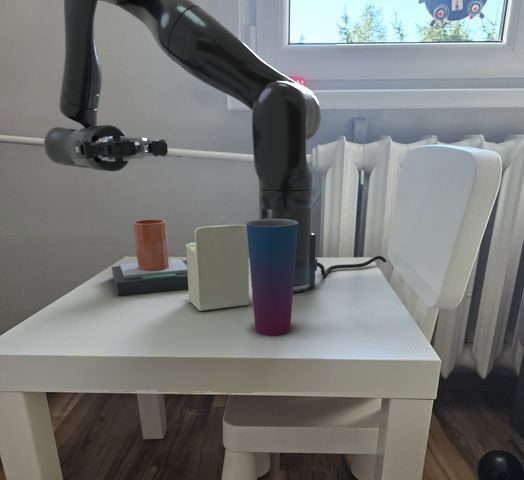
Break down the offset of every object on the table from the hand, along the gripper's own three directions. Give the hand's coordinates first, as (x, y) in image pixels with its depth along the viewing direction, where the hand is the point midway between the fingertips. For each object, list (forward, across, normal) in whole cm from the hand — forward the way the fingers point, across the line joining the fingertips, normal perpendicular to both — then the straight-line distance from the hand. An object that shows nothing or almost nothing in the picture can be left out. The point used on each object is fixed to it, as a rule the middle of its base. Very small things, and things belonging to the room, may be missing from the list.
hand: (140, 148), depth 78 cm
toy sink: (+11, +6, +24) cm, 27 cm away
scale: (-8, +4, +24) cm, 26 cm away
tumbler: (-8, +4, +21) cm, 23 cm away
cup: (+26, +6, +24) cm, 36 cm away
